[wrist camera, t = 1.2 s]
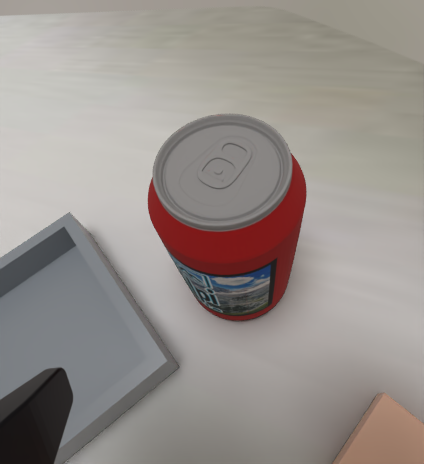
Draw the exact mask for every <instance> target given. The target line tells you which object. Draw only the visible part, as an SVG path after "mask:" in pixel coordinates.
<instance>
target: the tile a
mask: <svg viewBox="0 0 424 464" xmlns="http://www.w3.org/2000/svg"><path fill="white" fill-rule="evenodd" d="M332 464H424V424H423V423H422V422H421V421H420V420H418V419H417V418H416V417H415V416H413V415H412V414H411V413H409V412H408V411H407V410H406V409H404V408H403V407H402V406H401V405H399V404H398V403H397V402H396V401H394V400H393V399H392V398H391V397H389V396H388V395H387V394H386V393H379V394H377V396H376V397H375V399H374V400H373V402H372V403H371V405H370V406H369V408H368V409H367V411H366V412H365V414H364V416H363V417H362V419H361V420H360V422H359V423H358V425H357V426H356V428H355V429H354V431H353V432H352V434H351V435H350V437H349V439H348V440H347V442H346V443H345V445H344V446H343V448H342V449H341V451H340V452H339V454H338V455H337V457H336V458H335V460H334V462H333V463H332Z"/></svg>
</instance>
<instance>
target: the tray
mask: <svg viewBox="0 0 424 464" xmlns="http://www.w3.org/2000/svg"><path fill="white" fill-rule="evenodd" d="M57 367H62V368H64V370H65V371H66V374H67V377H68V380H69V383H70V386H71V389H72V392H73V404H72V407H71V411H70V414H69V417H68V420H67V424H66V427H65V430H64V433H63V437H62V440H61V443H60V447H59V450H58V453H57V456H56V459H55V462H54V464H63V463H64V462H65V461H66V460H68V459H69V458H70V457H71V456H73V455H74V454H75V453H76V452H77V451H79V450H80V449H81V448H82V447H83V446H85V445H86V444H87V443H88V442H89V441H91V440H92V439H93V438H94V437H96V436H97V435H98V434H99V433H100V432H102V431H103V430H104V429H105V428H106V427H108V426H109V425H110V424H111V423H112V422H114V421H115V420H116V419H117V418H118V417H120V416H121V415H122V414H123V413H125V412H126V411H127V410H128V409H129V408H131V407H132V406H133V405H134V404H135V403H137V402H138V401H139V400H140V399H141V398H143V397H144V396H145V395H146V394H147V393H149V392H150V391H151V390H152V389H154V388H155V387H156V386H157V385H158V384H160V383H161V382H162V381H163V380H164V379H166V378H167V377H168V376H169V375H170V374H172V373H173V372H174V371H175V370H177V369H178V368H179V366H178V364H177V363H176V361H175V360H174V358H173V357H172V355H171V354H170V352H169V351H168V349H167V348H166V346H165V345H164V343H163V342H162V340H161V339H160V337H159V336H158V334H157V333H156V331H155V330H154V328H153V327H152V325H151V324H150V322H149V321H148V319H147V318H146V316H145V315H144V313H143V312H142V310H141V309H140V307H139V306H138V305H137V303H136V302H135V300H134V299H133V297H132V296H131V294H130V293H129V291H128V290H127V288H126V287H125V285H124V284H123V282H122V281H121V279H120V278H119V276H118V275H117V273H116V272H115V270H114V269H113V267H112V266H111V264H110V263H109V261H108V260H107V258H106V257H105V255H104V254H103V252H102V251H101V249H100V248H99V246H98V245H97V243H96V242H95V240H94V239H93V237H92V236H91V234H90V233H89V232H88V231H87V230H86V229H85V228H84V227H83V226H82V225H81V224H80V222H79V221H78V220H77V219H76V218H75V217H74V216H73V215H72V214H71V213H70V212H69V213H67V214H66V215H64V216H63V217H61V218H60V219H58V220H57V221H55V222H54V223H52V224H51V225H49V226H48V227H46V228H45V229H43V230H42V231H40V232H39V233H37V234H36V235H34V236H33V237H31V238H30V239H28V240H27V241H25V242H24V243H22V244H21V245H19V246H18V247H16V248H15V249H13V250H12V251H10V252H9V253H7V254H6V255H4V256H3V257H1V258H0V399H2V398H3V397H5V396H6V395H8V394H9V393H11V392H12V391H14V390H15V389H17V388H18V387H20V386H21V385H23V384H24V383H26V382H27V381H29V380H30V379H32V378H33V377H35V376H36V375H38V374H39V373H41V372H42V371H44V370H45V369H48V368H57Z"/></svg>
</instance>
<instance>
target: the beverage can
mask: <svg viewBox="0 0 424 464" xmlns="http://www.w3.org/2000/svg"><path fill="white" fill-rule="evenodd" d="M305 203H306V183H305V178H304V175H303V172H302V170H301V168H300V166H299V164H298V162H297V160H296V159H295V158H294V156H293V155H292V154H291V152H290V150H289V147H288V145H287V143H286V142H285V140H284V139H283V137H282V136H281V135H280V134H279V133H278V132H277V131H276V130H275V129H274V128H273V127H271V126H270V125H268V124H267V123H265V122H263V121H261V120H258V119H256V118H253V117H250V116H245V115H240V114H217V115H211V116H207V117H203V118H200V119H197V120H195V121H193V122H190V123H188V124H186V125H185V126H183V127H182V128H180V129H179V130H177V131H176V132H175V133H174V134H172V135H171V136H170V137H169V138H168V139H167V140H166V142H165V143H164V144H163V146H162V147H161V149H160V150H159V152H158V154H157V156H156V159H155V162H154V166H153V177H152V180H151V183H150V187H149V192H148V209H149V215H150V218H151V221H152V223H153V226H154V228H155V229H156V231H157V233H158V235H159V237H160V238H161V240H162V242H163V244H164V246H165V247H166V249H167V251H168V253H169V254H170V256H171V258H172V260H173V261H174V263H175V265H176V266H177V268H178V270H179V272H180V273H181V275H182V276H183V278H184V280H185V281H186V283H187V285H188V286H189V288H190V289H191V291H192V293H193V294H194V296H195V297H196V299H197V300H198V302H199V303H200V304H201V305H202V306H203V307H204V308H205V309H206V310H208V311H209V312H211V313H212V314H214V315H216V316H218V317H221V318H224V319H228V320H248V319H253V318H256V317H258V316H261V315H263V314H265V313H266V312H268V311H269V310H271V309H272V308H273V307H274V306H275V305H276V304H277V303H278V302H279V300H280V299H281V298H282V296H283V294H284V292H285V290H286V287H287V284H288V280H289V276H290V272H291V268H292V264H293V260H294V255H295V251H296V246H297V242H298V237H299V233H300V228H301V223H302V218H303V213H304V208H305Z"/></svg>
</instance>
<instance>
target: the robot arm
mask: <svg viewBox="0 0 424 464" xmlns="http://www.w3.org/2000/svg"><path fill="white" fill-rule="evenodd" d="M72 404H73V392H72V389H71V386H70V383H69V380H68V377H67V374H66V371H65V370H64V368H62V367H57V368H48V369H45V370H44V371H42V372H41V373H39V374H38V375H36V376H35V377H33V378H32V379H30V380H29V381H27V382H26V383H24V384H23V385H21V386H20V387H18V388H17V389H15V390H14V391H12V392H11V393H9V394H8V395H6V396H5V397H3V398H2V399H0V464H54V462H55V459H56V456H57V453H58V450H59V447H60V443H61V440H62V437H63V433H64V430H65V427H66V424H67V420H68V417H69V414H70V411H71V407H72Z"/></svg>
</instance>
